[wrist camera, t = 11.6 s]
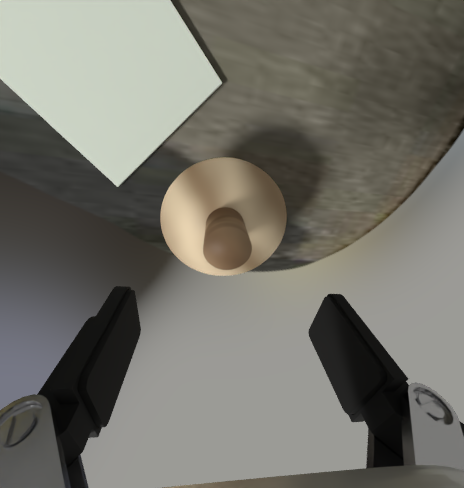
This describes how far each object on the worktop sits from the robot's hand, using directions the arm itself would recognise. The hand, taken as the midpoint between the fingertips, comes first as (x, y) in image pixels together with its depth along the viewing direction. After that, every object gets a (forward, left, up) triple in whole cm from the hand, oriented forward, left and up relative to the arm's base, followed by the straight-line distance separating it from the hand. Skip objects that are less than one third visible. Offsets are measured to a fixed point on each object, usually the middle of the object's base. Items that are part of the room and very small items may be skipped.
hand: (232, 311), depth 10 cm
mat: (0, -18, -18) cm, 25 cm away
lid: (0, 0, -13) cm, 13 cm away
